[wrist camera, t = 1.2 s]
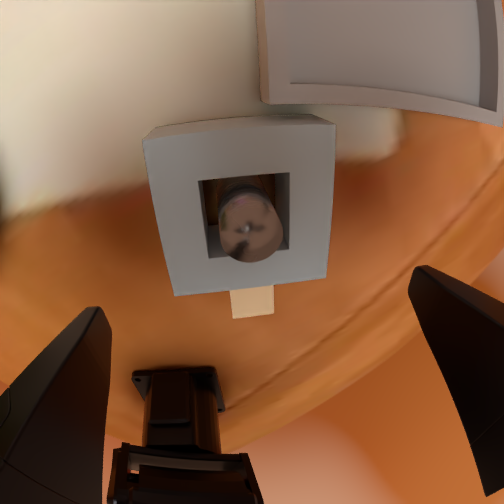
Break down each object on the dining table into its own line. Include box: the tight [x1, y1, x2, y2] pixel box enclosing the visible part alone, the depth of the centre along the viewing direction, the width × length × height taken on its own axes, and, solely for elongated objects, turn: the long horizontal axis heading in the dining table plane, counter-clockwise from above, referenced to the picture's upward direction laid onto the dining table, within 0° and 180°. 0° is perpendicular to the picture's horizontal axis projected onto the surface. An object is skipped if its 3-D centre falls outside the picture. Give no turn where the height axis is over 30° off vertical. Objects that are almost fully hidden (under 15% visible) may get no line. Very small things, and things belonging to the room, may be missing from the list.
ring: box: [142, 114, 336, 319], centre depth 14 cm, size 9×7×3 cm
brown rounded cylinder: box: [216, 175, 283, 263], centre depth 13 cm, size 2×2×4 cm
